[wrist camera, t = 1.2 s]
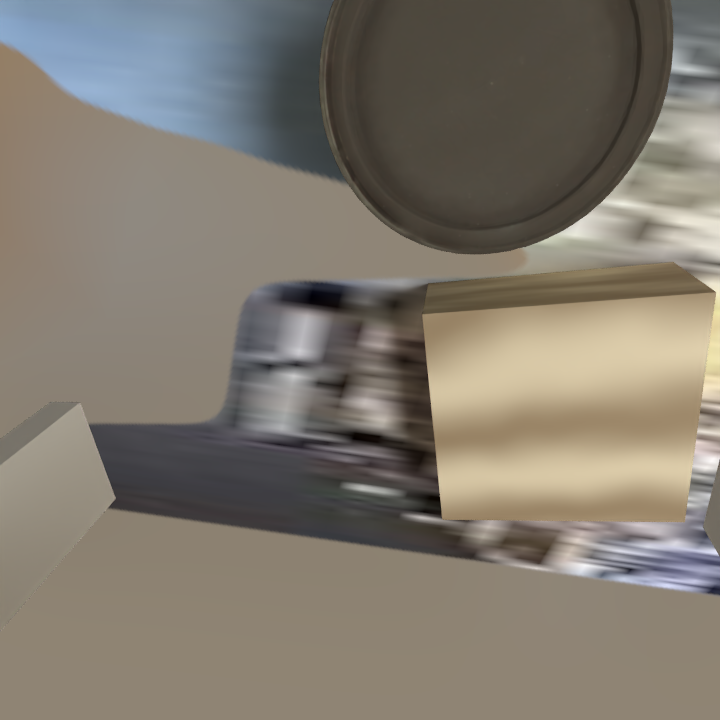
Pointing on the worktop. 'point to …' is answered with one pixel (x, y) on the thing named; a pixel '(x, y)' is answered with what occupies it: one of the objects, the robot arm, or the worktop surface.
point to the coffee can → (490, 111)
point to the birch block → (567, 393)
